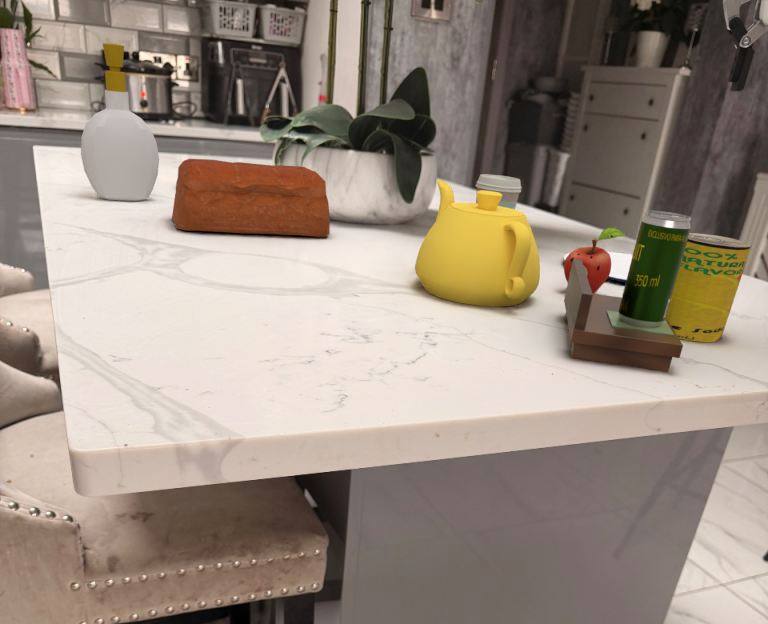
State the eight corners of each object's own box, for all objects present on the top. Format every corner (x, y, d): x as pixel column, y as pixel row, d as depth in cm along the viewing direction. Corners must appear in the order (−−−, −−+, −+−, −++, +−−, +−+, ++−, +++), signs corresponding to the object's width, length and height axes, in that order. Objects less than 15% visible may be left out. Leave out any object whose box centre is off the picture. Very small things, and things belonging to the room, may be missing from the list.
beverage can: (727, 346, 99) (759, 250, 93) (657, 335, 100) (684, 240, 94) (713, 327, 107) (741, 238, 101) (648, 318, 108) (672, 229, 102)
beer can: (659, 318, 92) (688, 214, 86) (666, 330, 88) (698, 221, 82) (614, 312, 93) (640, 208, 87) (619, 324, 88) (647, 214, 82)
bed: (649, 328, 103) (665, 271, 99) (674, 375, 86) (694, 309, 82) (560, 315, 104) (573, 259, 100) (566, 359, 87) (582, 293, 83)
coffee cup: (510, 252, 142) (523, 182, 136) (465, 245, 143) (475, 176, 137) (512, 244, 149) (523, 178, 143) (468, 238, 150) (478, 172, 144)
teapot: (379, 269, 117) (388, 173, 110) (476, 270, 125) (490, 179, 118) (461, 316, 98) (478, 203, 91) (570, 313, 105) (594, 208, 99)
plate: (544, 269, 130) (545, 262, 129) (581, 251, 150) (583, 244, 149) (694, 300, 121) (696, 292, 120) (713, 276, 141) (715, 269, 140)
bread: (169, 216, 138) (167, 152, 133) (313, 223, 147) (316, 163, 141) (178, 234, 125) (176, 163, 120) (334, 240, 134) (339, 175, 129)
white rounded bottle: (154, 196, 156) (147, 47, 143) (165, 203, 149) (159, 48, 136) (80, 193, 149) (66, 38, 136) (88, 201, 143) (74, 39, 130)
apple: (575, 300, 112) (591, 230, 108) (550, 288, 118) (564, 220, 113) (617, 300, 115) (634, 231, 110) (590, 289, 121) (606, 222, 116)
